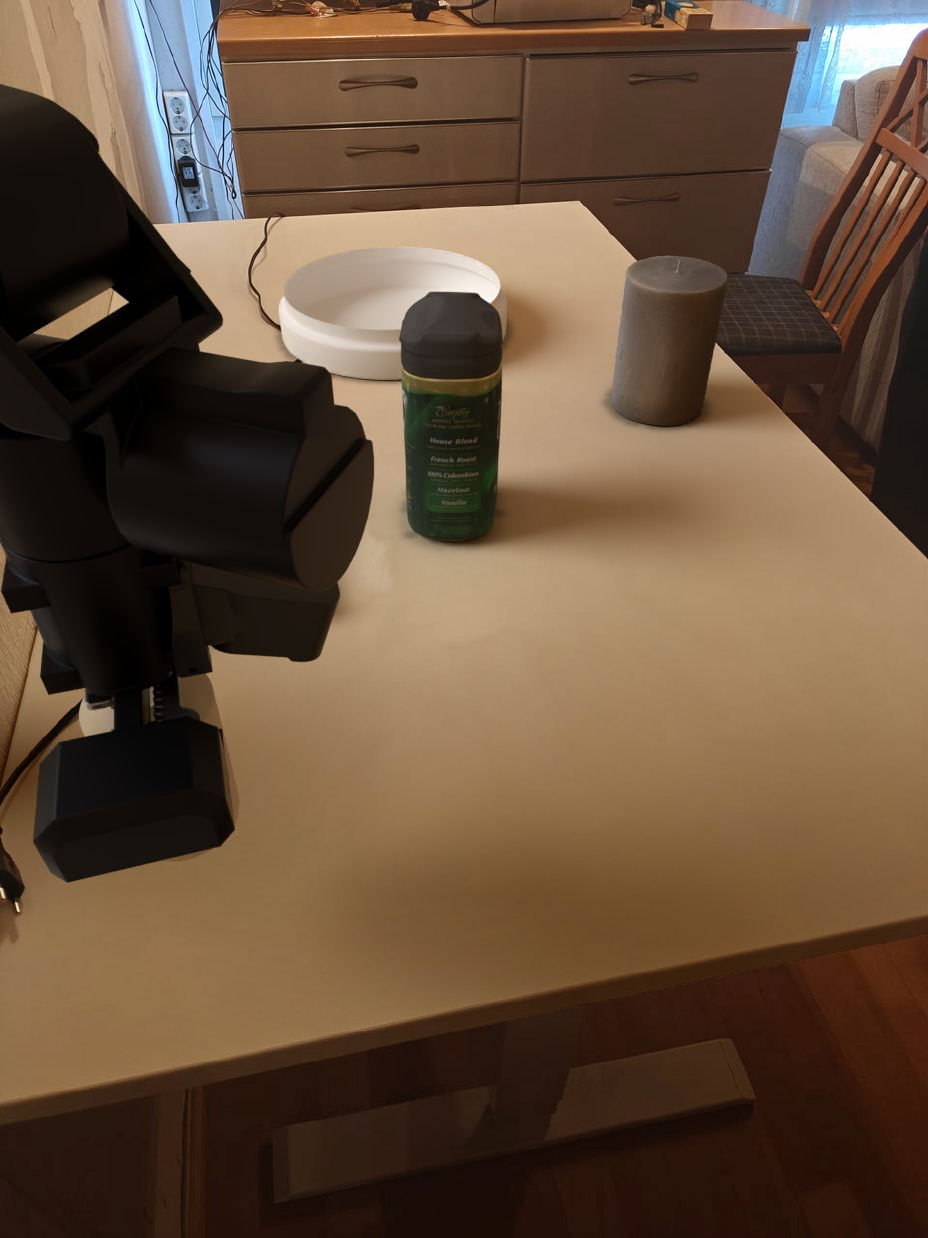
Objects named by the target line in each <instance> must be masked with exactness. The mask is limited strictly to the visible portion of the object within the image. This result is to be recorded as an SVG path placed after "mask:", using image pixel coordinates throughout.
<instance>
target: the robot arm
mask: <svg viewBox="0 0 928 1238" xmlns="http://www.w3.org/2000/svg"><path fill="white" fill-rule="evenodd" d="M110 289H112V290H113V291H114V292H115V293H116V294H118V295H119V296H120V297H121V298H123V299H124V300H125V301H127V303H125V304H124V305H122V306H120V307H119V308H117V309H116V310H114V311H112V312H111V313H109V314H108V315H106V316H104V317H103V318H101V319H99V320H98V321H96V322H94V323H93V324H91V325H89V326H88V327H87V328H84V329H83V330H82V331H79V333H77V334H75V335H73V336H72V337H70V338H68V339H67V338H62V337H57V336H51V335H45V334H39V333H36V332H38V331H40V330H41V329H43V328H44V327H46V326H48V325H50V324H51V323H53V322H55V321H57V320H58V319H60V318H62V317H64V316H65V315H66V314H68V313H70V312H72V311H73V310H75V309H77V308H79V307H80V306H82V305H84V304H86V303H87V302H89V301H91V300H93V299H94V298H96V297H97V296H99V295H101V294H103V293H104V292H106V291H108V290H110ZM223 326H224V317H223V314H222V313H221V311H220V310H219V308H218V307H217V306H216V305H215V303H214V302H213V301H212V299H211V298H210V297H209V296H208V294H207V292H205V290H204V289H203V288H202V287H201V285H200V284H199V282H198V281H197V280H196V278H195V277H194V276H193V275H192V270H191V268H189V267H188V266H187V265H186V263H184V262H183V261H182V260H181V259H180V258H179V257H178V255H177V254H176V253H175V252H174V250H173V249H172V247H171V246H170V245H169V244H168V242H167V241H166V240H165V238H164V237H163V236H162V235H161V233H160V232H159V231H158V229H157V228H156V227H155V225H154V224H153V223H152V221H151V220H150V219H149V218H148V216H147V215H146V214H145V213H144V212H143V209H141V207H140V206H139V205H138V204H137V202H136V200H134V198H133V197H132V196H131V194H130V193H129V192H128V191H127V189H126V188H125V186H124V185H123V184H122V183H121V181H120V180H119V179H118V178H117V176H116V175H115V173H113V171H112V170H111V169H110V167H109V166H108V164H107V163H106V162H105V161H104V159H103V158H102V156H101V154H100V143H99V141H98V138H97V137H96V136H95V134H93V132H92V131H91V130H90V129H89V128H88V127H87V126H86V125H85V124H84V123H83V122H82V121H81V120H80V119H79V118H78V117H76V115H74V114H73V113H71V112H70V111H68V110H67V109H66V108H64V107H63V106H61V105H60V104H58V103H57V102H55V101H54V100H52V99H50V98H48V97H45V96H42V95H40V94H37V93H35V92H32V91H28V90H24V89H20V88H16V87H14V86H11V85H10V86H9V85H6V84H2V83H0V545H1V548H2V550H3V552H4V555H5V560H4V561H5V562H4V563H5V564H4V568H3V574H2V582H1V587H0V593H1V595H2V597H3V599H4V602H5V604H6V606H7V609H8V611H9V612H10V614H16V613H23V612H29V611H30V614H31V616H32V618H33V621H34V624H35V625H36V627H37V631H38V632H39V634H40V637H41V639H42V648H41V649H42V651H41V659H40V660H41V662H40V671H39V677H40V680H41V682H42V684H43V687H44V688H45V691H46V693H47V695H48V696H51V695H56V694H61V693H67V692H71V691H77V690H83V689H84V696H85V703H86V706H87V708H88V709H89V710H98V709H103V708H107V707H109V706H112V705H114V729H111V731H110V732H105V733H100V734H95V735H90V736H81V737H76V738H71V739H66V740H61V741H58V742H57V743H56V744H55V746H54V747H53V748H52V749H51V750H50V751H49V753H48V754H47V755H46V756H45V757H44V758H43V759H42V761H40V763H39V764H38V765H39V766H38V776H37V777H38V778H37V789H36V803H35V814H34V824H33V838H32V843H33V845H34V846H35V849H36V850H37V852H38V853H39V856H40V857H41V859H42V861H43V862H44V864H45V866H46V868H47V869H48V871H49V873H50V874H52V875H53V876H55V877H56V878H58V879H60V880H62V881H63V882H65V883H66V884H67V883H68V884H69V883H72V882H76V881H81V880H86V879H89V878H94V877H99V876H103V875H107V874H110V873H115V872H119V871H124V870H128V869H132V868H137V867H141V866H144V865H149V864H152V863H157V862H163V861H162V860H166V859H170V858H174V857H179V856H183V855H187V854H191V853H196V852H200V851H204V850H208V849H212V850H213V849H216V848H221V847H222V846H223V845H224V843H225V842H226V841H227V840H228V839H229V838H230V836H232V834H233V833H234V832H235V831H236V827H235V825H236V823H235V824H234V816H233V807H232V799H231V790H230V782H229V774H228V768H227V763H226V758H225V749H224V740H223V732H222V729H218V727H217V726H214V725H211V724H208V723H206V722H203V721H201V719H200V716H199V713H198V712H197V711H196V710H194V709H192V708H186V707H182V703H181V690H180V678H185V677H190V676H195V675H200V674H210V673H213V662H212V654H211V651H210V648H209V646H210V647H211V648H213V649H214V650H216V651H218V652H221V653H223V654H226V655H227V654H228V655H238V656H256V657H268V658H269V657H270V658H286V659H288V660H289V661H291V662H293V663H309V662H313V661H315V660H317V659H318V658H319V657H320V656H321V655H322V652H323V649H324V646H325V644H326V641H327V638H328V634H329V631H330V628H331V625H332V622H333V619H334V616H335V613H336V610H337V607H338V604H339V601H340V598H341V591H340V586H339V581H340V580H341V579H342V577H344V575H345V574H346V572H347V571H348V569H349V567H350V565H351V564H352V562H353V559H354V558H355V556H356V554H357V551H358V549H359V547H360V544H361V541H362V539H363V537H364V534H365V529H366V526H367V522H368V520H369V515H370V510H371V505H372V501H373V491H374V482H375V481H374V480H375V450H374V444H373V440H372V439H367V436H366V433H365V429H364V426H363V423H362V421H361V419H360V418H359V416H358V415H357V412H355V411H354V410H352V409H351V408H350V407H349V406H348V405H347V406H346V405H340V404H337V403H335V397H334V396H335V395H334V387H333V386H334V385H333V378H332V377H333V376H332V373H330V372H329V371H328V370H327V369H326V368H325V367H322V366H316V365H311V364H306V363H304V362H299V361H292V360H291V361H289V360H282V361H274V362H273V361H272V362H266V361H257V360H251V359H246V358H240V357H236V356H235V357H234V356H229V355H223V354H218V353H211V352H207V351H206V352H205V351H201V349H200V344H201V343H202V342H204V341H205V340H206V339H208V338H209V337H210V336H212V335H213V334H214V333H215V332H217V331H219V330H220V329H221V328H222V327H223ZM151 687H153V689H154V690H153V691H152V692H153V696H154V698H153V702H154V705H153V708H154V711H155V712H154V713H153V715H154V718H155V721H151V710H150V688H151ZM113 697H114V701H113Z"/></svg>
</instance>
